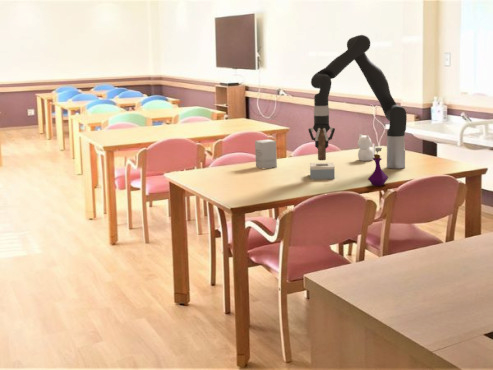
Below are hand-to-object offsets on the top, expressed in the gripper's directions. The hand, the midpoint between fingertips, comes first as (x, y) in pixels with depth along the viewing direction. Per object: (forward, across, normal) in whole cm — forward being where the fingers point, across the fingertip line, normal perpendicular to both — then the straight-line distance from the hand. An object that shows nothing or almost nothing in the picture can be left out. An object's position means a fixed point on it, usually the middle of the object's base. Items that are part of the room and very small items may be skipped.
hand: (321, 147), depth 364 cm
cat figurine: (+15, -27, -46) cm, 55 cm away
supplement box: (+15, +30, -30) cm, 45 cm away
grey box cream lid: (+15, 0, 0) cm, 15 cm away
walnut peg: (+6, 0, 0) cm, 6 cm away
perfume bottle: (+15, -26, +22) cm, 37 cm away
